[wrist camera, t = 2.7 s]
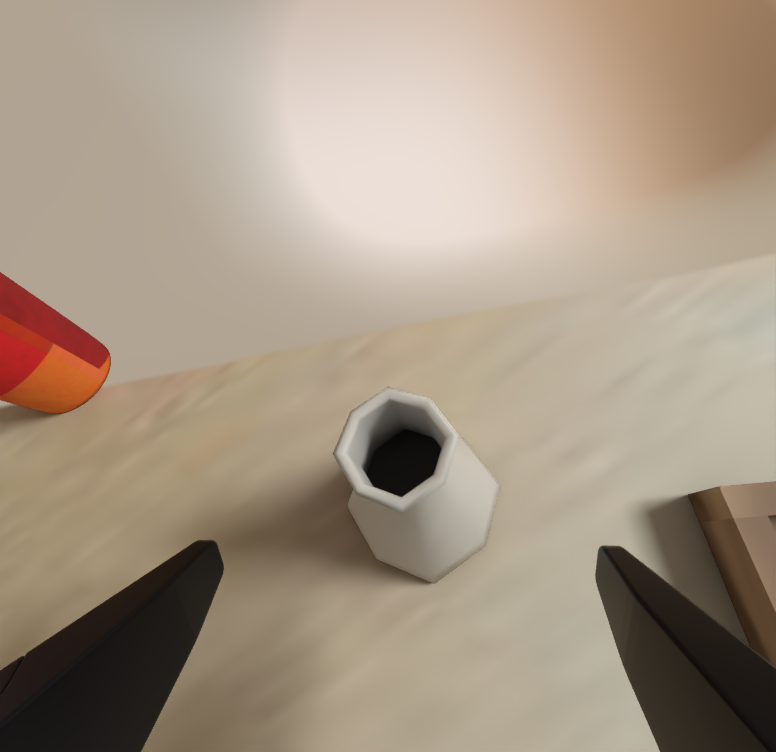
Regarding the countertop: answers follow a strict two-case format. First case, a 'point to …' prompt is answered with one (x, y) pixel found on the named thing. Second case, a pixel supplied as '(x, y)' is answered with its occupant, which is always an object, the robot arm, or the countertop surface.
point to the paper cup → (45, 355)
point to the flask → (415, 485)
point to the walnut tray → (745, 554)
